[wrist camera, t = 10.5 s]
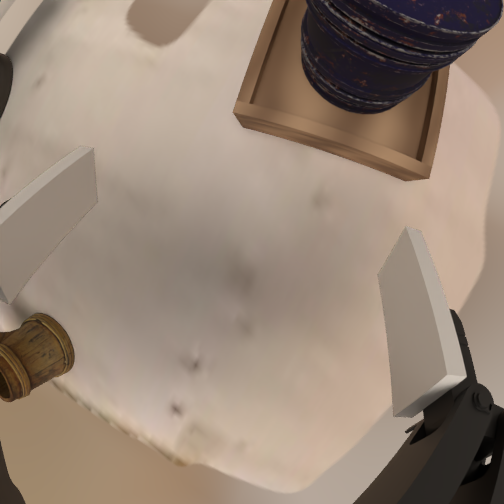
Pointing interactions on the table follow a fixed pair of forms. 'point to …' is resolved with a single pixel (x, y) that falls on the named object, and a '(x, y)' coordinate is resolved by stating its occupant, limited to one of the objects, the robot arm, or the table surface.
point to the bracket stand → (329, 116)
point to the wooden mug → (33, 356)
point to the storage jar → (386, 46)
